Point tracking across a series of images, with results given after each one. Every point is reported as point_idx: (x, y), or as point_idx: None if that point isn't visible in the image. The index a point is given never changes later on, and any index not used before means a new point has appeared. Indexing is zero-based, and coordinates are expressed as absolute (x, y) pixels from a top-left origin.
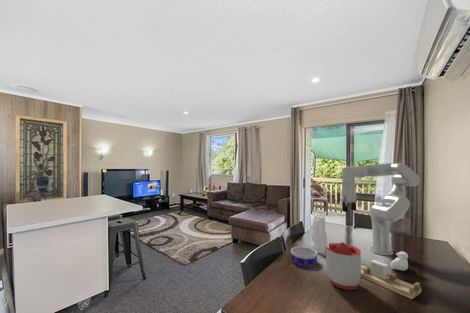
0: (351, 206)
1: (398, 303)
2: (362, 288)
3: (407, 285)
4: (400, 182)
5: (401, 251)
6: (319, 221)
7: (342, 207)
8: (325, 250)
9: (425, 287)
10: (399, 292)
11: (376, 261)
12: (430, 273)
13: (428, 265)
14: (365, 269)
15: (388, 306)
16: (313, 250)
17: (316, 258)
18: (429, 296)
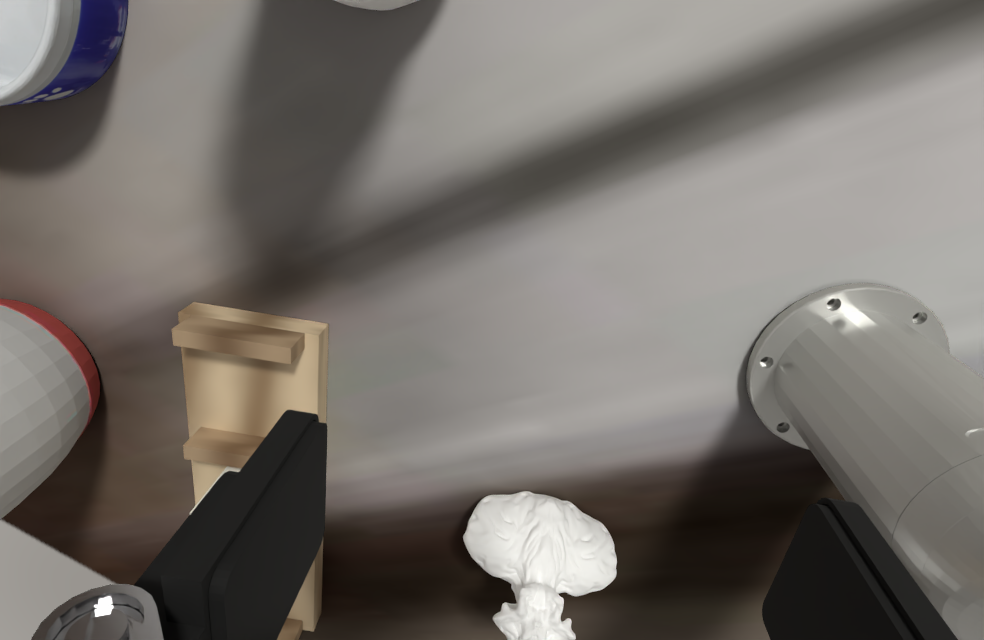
0: (866, 615)
1: (130, 566)
2: (92, 443)
3: None
4: None
5: (538, 637)
6: None
7: (222, 495)
8: (346, 4)
9: (394, 618)
10: None
11: None
12: (613, 624)
13: (754, 612)
14: (185, 456)
15: (67, 547)
16: (47, 4)
17: (19, 103)
18: (314, 632)
